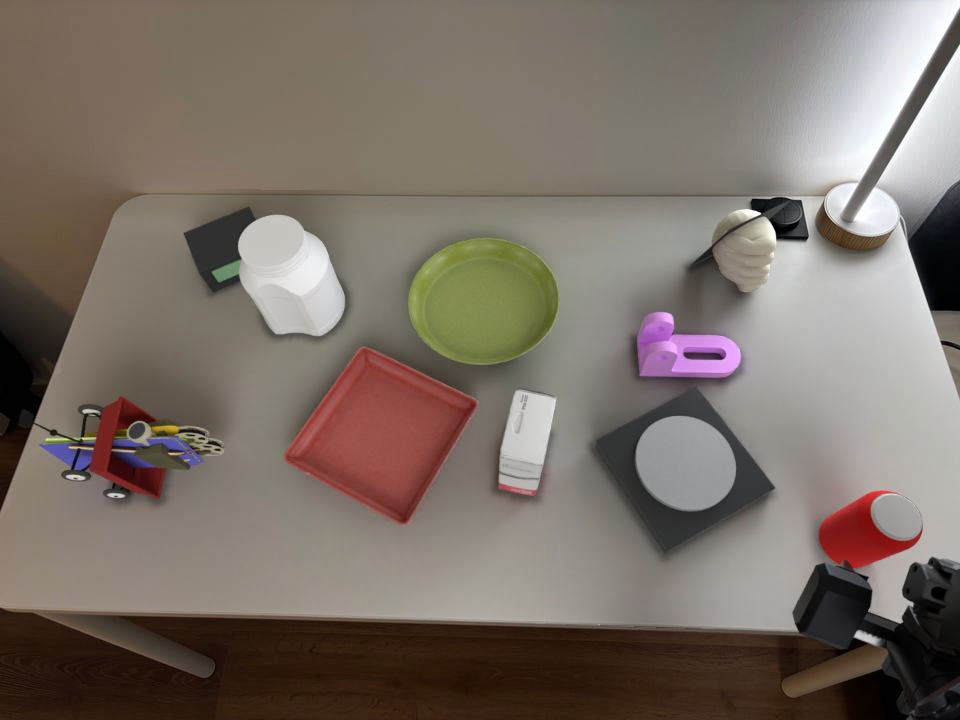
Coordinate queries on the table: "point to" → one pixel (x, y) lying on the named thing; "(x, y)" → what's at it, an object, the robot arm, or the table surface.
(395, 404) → the plant saucer
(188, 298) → the table surface
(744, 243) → the decorative object
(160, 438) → the toy cart
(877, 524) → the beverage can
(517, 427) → the ink box
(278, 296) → the jar
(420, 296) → the saucer
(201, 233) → the scale display
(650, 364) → the bracket
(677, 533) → the scale
